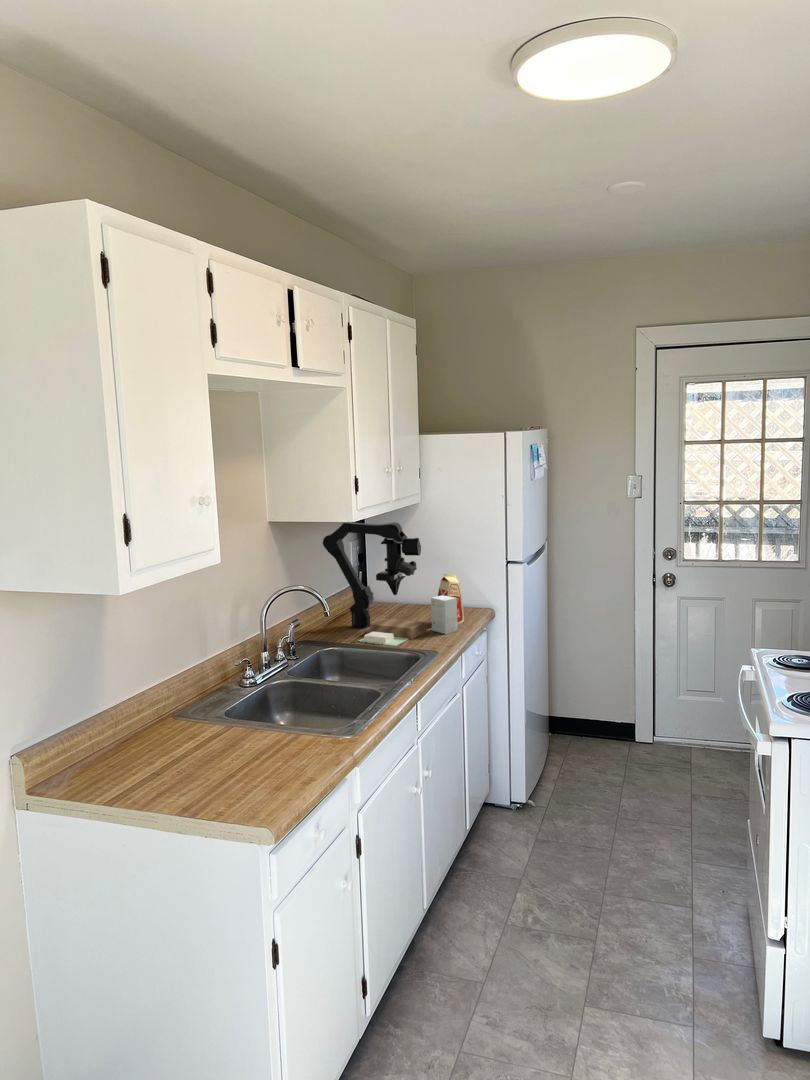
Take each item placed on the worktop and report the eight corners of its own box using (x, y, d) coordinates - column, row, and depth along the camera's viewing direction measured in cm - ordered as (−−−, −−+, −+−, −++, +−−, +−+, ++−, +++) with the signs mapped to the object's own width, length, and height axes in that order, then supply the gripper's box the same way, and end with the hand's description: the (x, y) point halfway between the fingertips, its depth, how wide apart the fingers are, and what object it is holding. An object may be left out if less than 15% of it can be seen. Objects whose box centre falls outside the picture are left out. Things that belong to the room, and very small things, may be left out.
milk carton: (449, 626, 314) (448, 575, 311) (433, 622, 321) (432, 573, 318) (466, 622, 319) (465, 572, 316) (450, 618, 326) (449, 569, 323)
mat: (357, 641, 296) (357, 640, 296) (372, 634, 305) (371, 634, 305) (395, 646, 288) (395, 645, 288) (409, 639, 297) (409, 638, 297)
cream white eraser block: (372, 631, 301) (372, 636, 301) (364, 635, 296) (364, 640, 296) (393, 633, 296) (393, 639, 297) (385, 637, 291) (385, 643, 291)
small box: (457, 631, 306) (457, 597, 304) (445, 634, 302) (444, 600, 300) (443, 627, 312) (442, 594, 310) (431, 630, 308) (430, 597, 306)
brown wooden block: (370, 634, 305) (370, 624, 305) (383, 628, 314) (383, 618, 314) (412, 639, 297) (411, 628, 296) (424, 632, 305) (424, 622, 305)
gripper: (400, 560, 298) (401, 601, 301) (423, 552, 314) (424, 591, 317) (374, 558, 304) (376, 599, 306) (399, 551, 320) (400, 589, 322)
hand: (395, 594), depth 313 cm, fingers closed
